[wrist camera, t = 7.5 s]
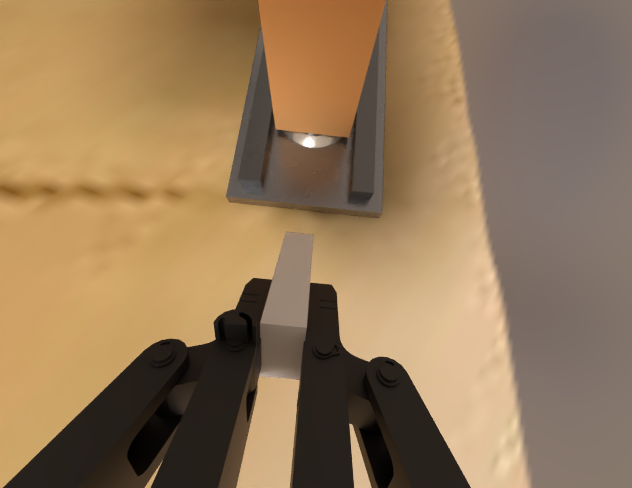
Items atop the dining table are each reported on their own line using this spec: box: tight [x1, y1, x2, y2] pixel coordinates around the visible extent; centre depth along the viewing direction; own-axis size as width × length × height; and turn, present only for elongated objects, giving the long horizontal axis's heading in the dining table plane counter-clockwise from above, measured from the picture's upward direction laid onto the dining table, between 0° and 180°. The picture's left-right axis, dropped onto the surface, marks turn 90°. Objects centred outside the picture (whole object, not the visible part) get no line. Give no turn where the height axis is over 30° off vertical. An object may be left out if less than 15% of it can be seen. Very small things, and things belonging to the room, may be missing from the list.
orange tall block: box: [258, 0, 386, 138], centre depth 16 cm, size 5×6×11 cm
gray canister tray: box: [226, 0, 387, 218], centre depth 19 cm, size 28×12×12 cm, turn 175°
